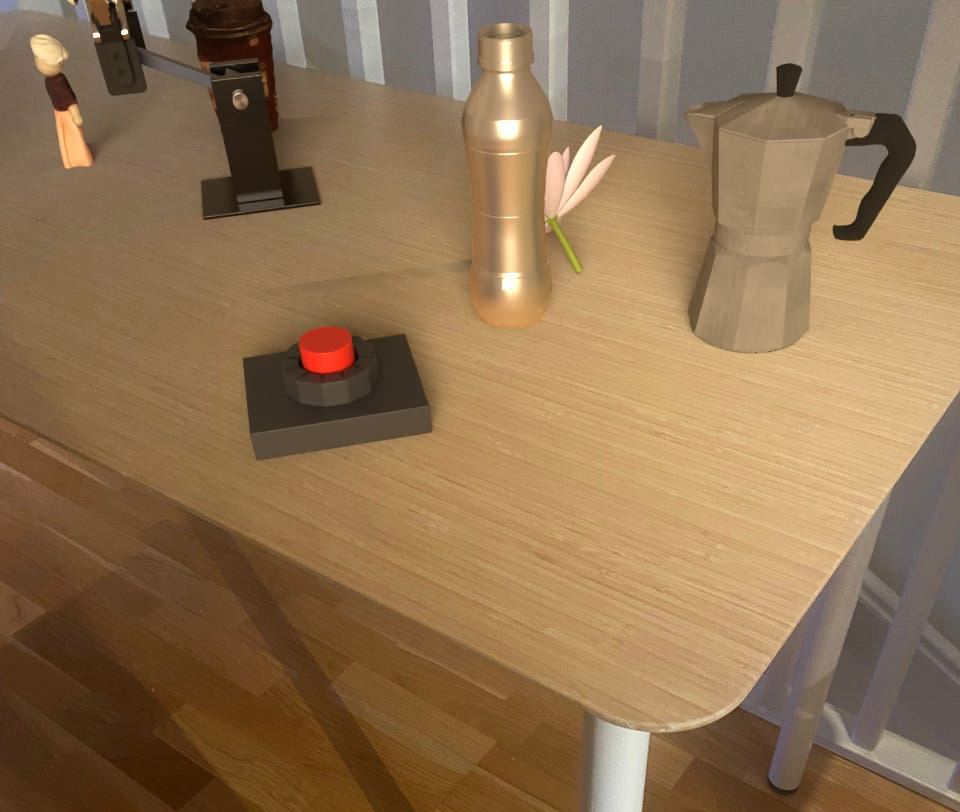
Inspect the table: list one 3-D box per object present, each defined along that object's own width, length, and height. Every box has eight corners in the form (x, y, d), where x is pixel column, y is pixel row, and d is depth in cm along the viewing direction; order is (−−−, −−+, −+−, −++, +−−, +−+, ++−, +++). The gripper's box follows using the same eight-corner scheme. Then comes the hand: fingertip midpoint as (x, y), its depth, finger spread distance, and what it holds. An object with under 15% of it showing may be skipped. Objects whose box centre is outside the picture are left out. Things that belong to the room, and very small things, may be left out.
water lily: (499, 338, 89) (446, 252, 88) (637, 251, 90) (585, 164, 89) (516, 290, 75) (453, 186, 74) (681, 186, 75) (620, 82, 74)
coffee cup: (221, 158, 104) (190, 18, 95) (203, 133, 110) (172, -2, 100) (300, 142, 106) (277, 3, 97) (279, 119, 112) (255, -15, 102)
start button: (305, 380, 66) (300, 356, 65) (300, 353, 69) (296, 330, 67) (358, 372, 66) (354, 348, 65) (351, 345, 69) (348, 322, 68)
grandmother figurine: (51, 167, 105) (5, 31, 95) (84, 156, 106) (42, 22, 97) (85, 186, 100) (40, 47, 91) (119, 175, 102) (78, 37, 93)
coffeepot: (646, 339, 75) (669, 78, 62) (679, 284, 81) (706, 35, 68) (855, 375, 70) (927, 101, 57) (874, 313, 76) (943, 52, 63)
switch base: (256, 461, 66) (243, 410, 63) (248, 384, 73) (236, 334, 70) (431, 433, 67) (427, 382, 65) (408, 359, 74) (402, 310, 71)
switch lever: (110, 69, 83) (114, 39, 82) (112, 52, 86) (116, 23, 85) (253, 119, 88) (259, 91, 87) (250, 100, 91) (256, 73, 90)
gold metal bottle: (541, 292, 81) (542, 11, 66) (560, 333, 76) (565, 40, 62) (464, 302, 80) (447, 21, 66) (478, 343, 75) (464, 51, 61)
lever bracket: (205, 229, 92) (171, 91, 83) (203, 192, 98) (171, 60, 90) (322, 214, 93) (300, 76, 85) (313, 178, 99) (292, 47, 91)
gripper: (19, -194, 79) (92, 54, 91) (-8, -163, 67) (80, 117, 80) (114, -202, 80) (173, 45, 92) (104, -173, 68) (173, 105, 80)
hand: (129, 76), depth 86 cm, fingers open, 7 cm apart
